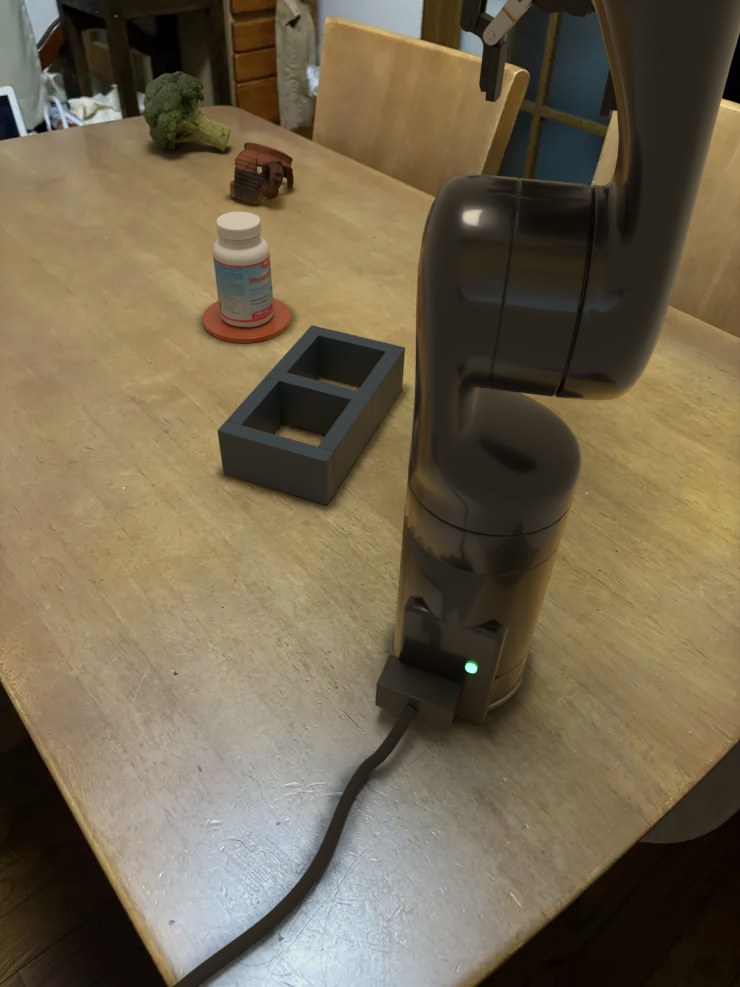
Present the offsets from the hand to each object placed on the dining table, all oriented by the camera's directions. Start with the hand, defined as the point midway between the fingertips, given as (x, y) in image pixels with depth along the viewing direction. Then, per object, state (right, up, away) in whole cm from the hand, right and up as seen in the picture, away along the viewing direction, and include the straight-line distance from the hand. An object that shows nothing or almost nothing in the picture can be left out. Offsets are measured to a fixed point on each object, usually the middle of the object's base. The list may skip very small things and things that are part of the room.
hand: (548, 107), depth 56 cm
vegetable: (-44, +30, +71) cm, 89 cm away
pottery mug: (-29, +16, +57) cm, 66 cm away
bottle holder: (-18, -23, +16) cm, 33 cm away
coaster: (-28, -9, +30) cm, 42 cm away
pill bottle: (-27, -9, +30) cm, 42 cm away
